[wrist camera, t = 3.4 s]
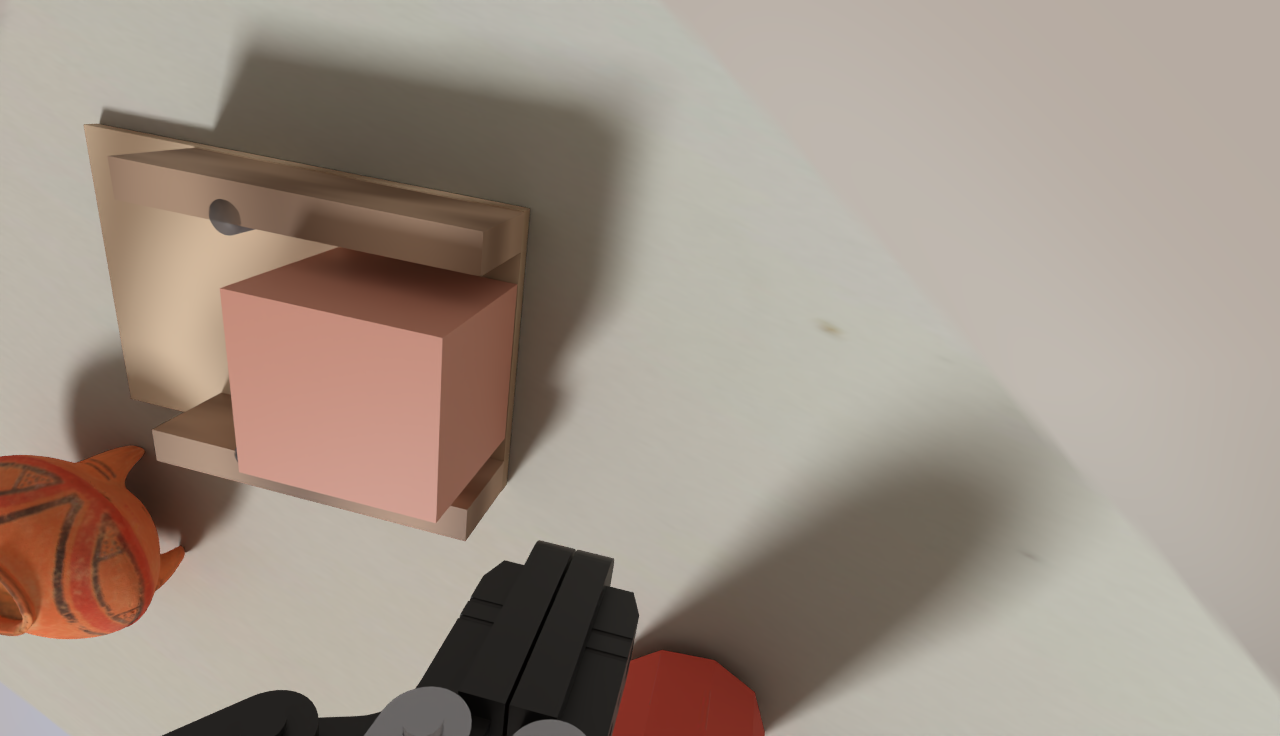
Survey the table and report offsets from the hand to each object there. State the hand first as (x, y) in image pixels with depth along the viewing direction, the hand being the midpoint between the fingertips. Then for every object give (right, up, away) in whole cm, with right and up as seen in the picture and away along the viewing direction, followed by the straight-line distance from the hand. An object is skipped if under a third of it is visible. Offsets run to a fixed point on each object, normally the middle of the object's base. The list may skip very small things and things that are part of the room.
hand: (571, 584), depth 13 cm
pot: (-20, -1, +16) cm, 26 cm away
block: (-6, +5, +9) cm, 12 cm away
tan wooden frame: (-10, +6, +10) cm, 15 cm away
